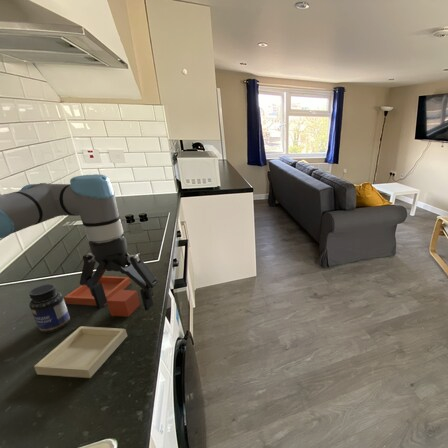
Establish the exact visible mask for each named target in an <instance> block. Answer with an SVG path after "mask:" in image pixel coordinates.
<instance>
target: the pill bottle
mask: <svg viewBox="0 0 448 448" xmlns="http://www.w3.org/2000/svg"><path fill="white" fill-rule="evenodd" d="M28 295H29V298H30V299H31V300H30V302H29V304H28V306H29V308H30V311H31V314H32V316H33V319H34V321H35V323H36V326H37V328H38V331H39V332H40V333H43V334H49V333H53V332H56V331H60V330H61V329H63V328H65V327H66V326H67V325H68V324H69V323H70V321H71V317H70V313H69V310H68V307H67V304H66V302H65V299H64V296H63V294H62V293H61V292H59V291H57V288H56V285H55V284H53V283H48V284H42V285H39V286H36V287H35V288H32V289H31V290H30V291H29V293H28Z"/></svg>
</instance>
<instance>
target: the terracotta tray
mask: <svg viewBox="0 0 448 448" xmlns="http://www.w3.org/2000/svg"><path fill="white" fill-rule="evenodd" d="M98 283H102V286H103V289H104V293H105V296H106V299H107V300H108V299H109V298H110V297H112V296H113V295H114V294H115V293H116V292H118V291H119V290H126V288H127V287H128V286H129V285H130V284H132V282H131V278H129V277H128V276H111V275H110V276H109V275H102V277H101V278H100V280H99V282H98ZM98 283H97V284H98ZM63 299H64V302H65V305H80V306H97V305H96V302H95V298H94V297H93V296H92V295H91V292H90V289H89V288H88V287H87V285H83V286H82V285H79V286H78V287H77V288H75V289H74V290H72V291H71V292H70V293H68V294H67V295H65V296H63ZM106 305H108V303H106V304H105V305H104V306H103V307H105V306H106Z"/></svg>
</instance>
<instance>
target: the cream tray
mask: <svg viewBox="0 0 448 448" xmlns="http://www.w3.org/2000/svg"><path fill="white" fill-rule="evenodd" d="M127 337H128V332H127V329H126V328H115V327H103V326H101V327H99V326H98V327H97V326H82V325H81V326H79V327H78V328H76V330H74V331H73V332H72V333H71V334H69V335H68V336H67V337H66V338H65V339H64V340H63V341H61V342H60V343H59V344H58V345H56V346H55V347H54V348H53V349H52V350H51V351H50V352H49V353H48V354H47V355H44V357H43V358H41V359H40V360H39V361H38V362H37V363H36V364H35V365H33V368H34V370H35V373H36V375H40V376H53V377H54V376H55V377H68V378H83V379H84V378H85V379H91V378H92V377H93V376H94V375H95V374H96V372H97V371H98V370H99V369H100V368H101V367H102V366H103V364H104V363H106V361H107V360H108V359H109V357H111V355H112V354H113V353H114V352H115V351H116V350H117V348H119V347H120V345H121V344H122V343H123V342H124V341H125V340H126V338H127Z"/></svg>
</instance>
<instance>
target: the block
mask: <svg viewBox="0 0 448 448" xmlns="http://www.w3.org/2000/svg"><path fill="white" fill-rule="evenodd" d="M140 305H141V303H140V299H139V296H138V291H137V290H133V289H124V290H119V291H118V292H116V293H115V294H114V295H113V296H112V297H110V298H109V299H108V300H107V306H108V310H109V314H110V315H111V317H127V318H128V317H130V316H131V315H132V314H133V313H134V312H135V311H136V310H137V309H138V307H140Z"/></svg>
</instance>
